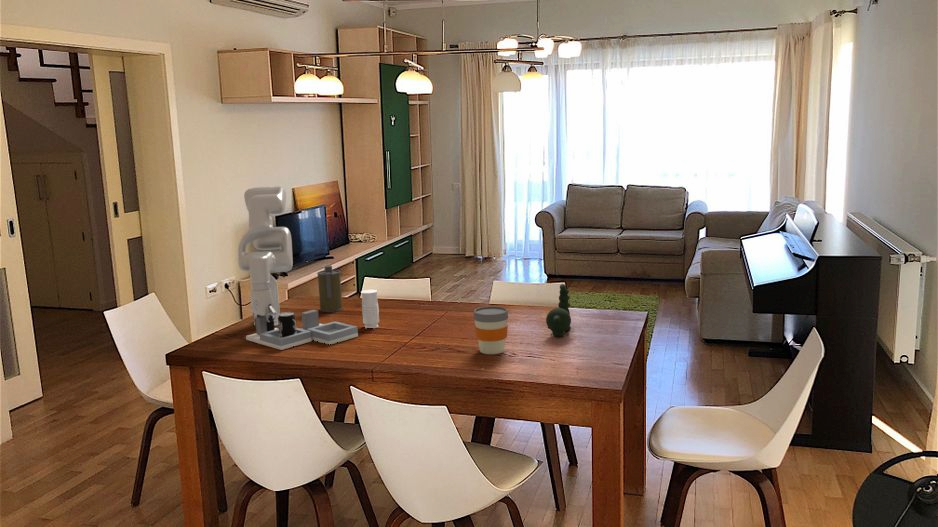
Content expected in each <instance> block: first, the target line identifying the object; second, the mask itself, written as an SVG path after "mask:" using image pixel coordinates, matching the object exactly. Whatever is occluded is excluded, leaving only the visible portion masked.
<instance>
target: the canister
mask: <svg viewBox="0 0 938 527" xmlns="http://www.w3.org/2000/svg"><path fill="white" fill-rule="evenodd" d="M341 273H342V272H341V270H339V269H333V265H332V264H331V265H325V266H324V269H323V270H319V271H318V272H317V273H316V274H317V279H318V280H317V282H318V296H319V311H320V312H322V313H335V311H336V312H339V311H342V310H343V309H344V307H343V298H342V297H343V296H342V280H341V279H342V278H341Z"/></svg>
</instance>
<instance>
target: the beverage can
mask: <svg viewBox="0 0 938 527" xmlns="http://www.w3.org/2000/svg"><path fill="white" fill-rule="evenodd" d="M277 326H278V329H279V337H281V338H283V337H286V336H290V335H293V334H297V331H296V328H297V322H296V315H295V313H294V312H293V311H284V312H280V314H279V317H278V325H277Z"/></svg>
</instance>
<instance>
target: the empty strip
mask: <svg viewBox="0 0 938 527" xmlns="http://www.w3.org/2000/svg"><path fill="white" fill-rule="evenodd" d="M301 326H302V328H301V329H304V330H308V331H311V339H312V341H313V340H314V341H313V342H317V341H318V343H322V344H324V343H325V345H328V344H329V346H331V345H333V344H337V342H338V343H341V342H344V341H347V340H351V339H355V338H356V337H359V331H358V326H356V325H352V324H347V323H344V322H340V321H336V320H335V321H332V322H327V323H320V318H319V310H317V309H310V310H307V311H304V312H301ZM330 344H331V345H330Z"/></svg>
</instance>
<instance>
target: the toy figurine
mask: <svg viewBox="0 0 938 527" xmlns="http://www.w3.org/2000/svg"><path fill="white" fill-rule="evenodd" d="M569 292H570V291H569V290H568V289H567V286H566V284H564V283H561V284H560V285H559V296H558V301H559V302H558V304H557V306H558V307H555V308H553V309H551V310H549V312H548V313H547V315H546V316H545V317H546V318H545V323H546V326H547V328H548V329H549V330H550V331H551V332H552V336H553V337H554V338H558V339H560V338H563V337H564V335H565V333H569V332H570V331H571V329H572V326H571V323H572V317H571V315H570V314H571V312H570V309H569V307H571V304H570V302H569V300H570V299H571V297H570V296H569Z"/></svg>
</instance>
